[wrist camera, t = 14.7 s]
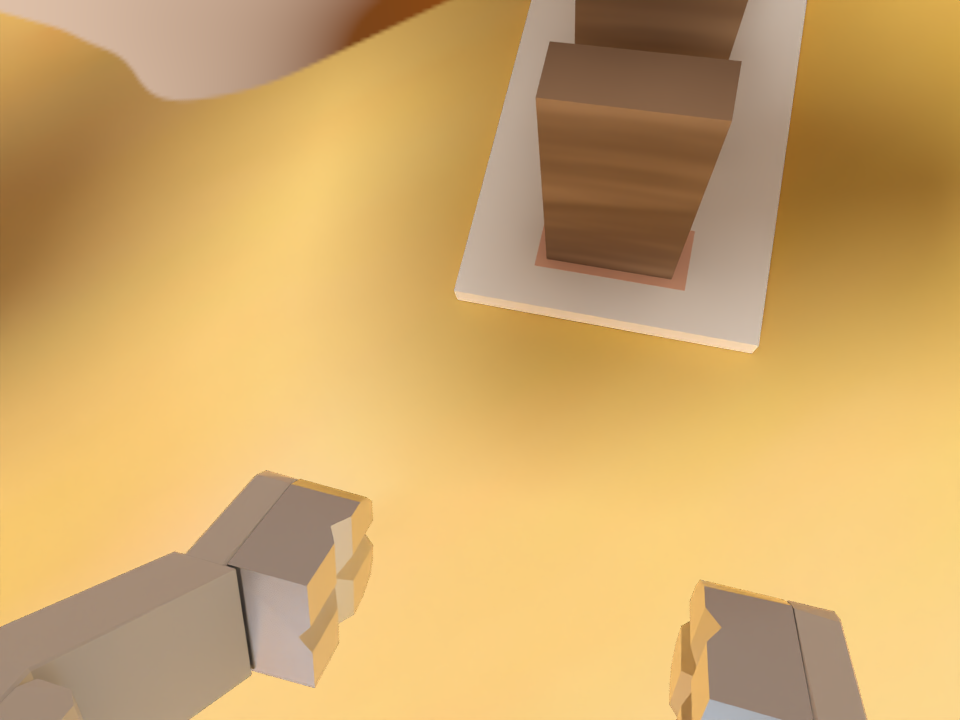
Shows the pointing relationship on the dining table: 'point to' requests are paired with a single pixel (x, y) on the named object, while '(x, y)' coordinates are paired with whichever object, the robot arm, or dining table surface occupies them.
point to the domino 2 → (628, 152)
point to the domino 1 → (661, 25)
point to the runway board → (714, 233)
